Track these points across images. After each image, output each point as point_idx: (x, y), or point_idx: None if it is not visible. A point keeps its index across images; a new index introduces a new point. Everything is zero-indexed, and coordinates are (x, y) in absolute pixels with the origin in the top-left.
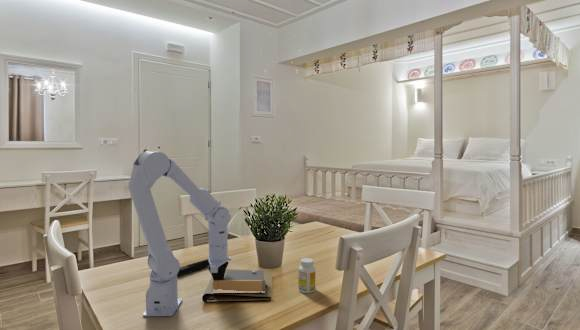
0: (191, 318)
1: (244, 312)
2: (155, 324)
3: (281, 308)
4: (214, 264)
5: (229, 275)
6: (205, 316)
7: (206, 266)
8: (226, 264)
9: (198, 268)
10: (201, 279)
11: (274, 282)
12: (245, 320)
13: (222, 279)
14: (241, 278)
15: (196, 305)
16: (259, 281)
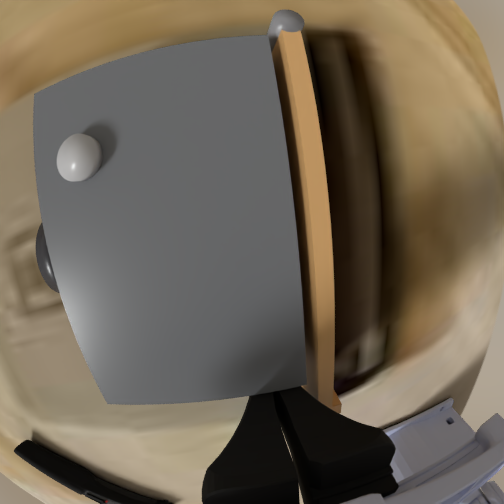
0: (473, 343)
1: (464, 159)
2: (467, 401)
3: (403, 6)
4: (482, 482)
5: (198, 375)
6: (474, 307)
7: (43, 448)
8: (295, 480)
9: (78, 471)
10: (146, 454)
11: (86, 52)
12: (496, 151)
13: (308, 393)
14: (253, 248)
15: (404, 380)
16: (302, 54)
